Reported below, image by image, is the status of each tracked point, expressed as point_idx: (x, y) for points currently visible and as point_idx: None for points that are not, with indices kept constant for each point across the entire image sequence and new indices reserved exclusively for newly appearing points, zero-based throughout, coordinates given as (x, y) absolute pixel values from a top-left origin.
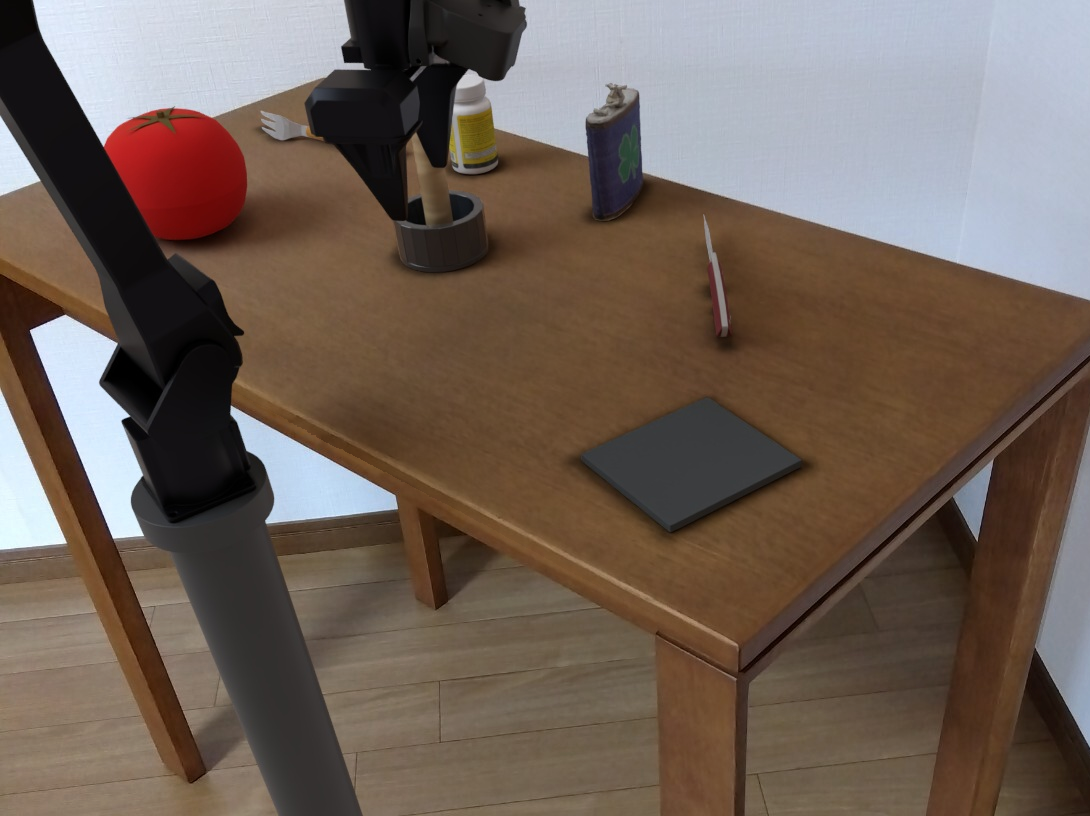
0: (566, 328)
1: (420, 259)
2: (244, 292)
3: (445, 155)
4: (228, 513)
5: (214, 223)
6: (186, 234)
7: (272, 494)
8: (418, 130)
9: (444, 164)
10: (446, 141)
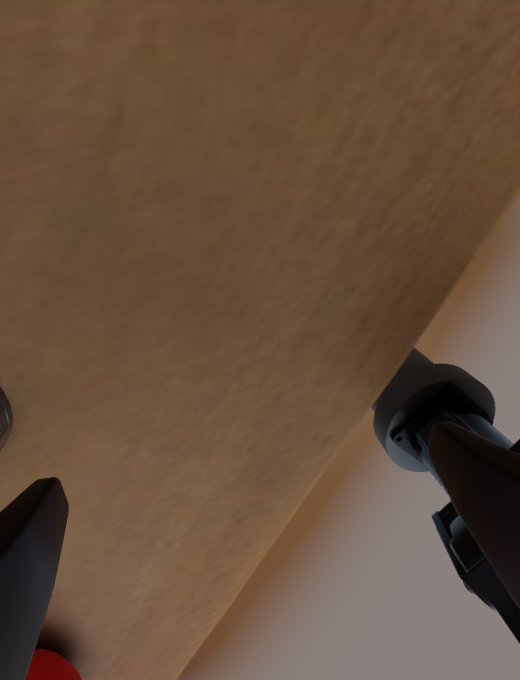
0: (109, 106)
1: (3, 427)
2: (145, 560)
3: (41, 504)
4: (482, 386)
5: (42, 660)
6: (68, 664)
7: (417, 373)
8: (25, 663)
9: (54, 484)
10: (7, 546)
